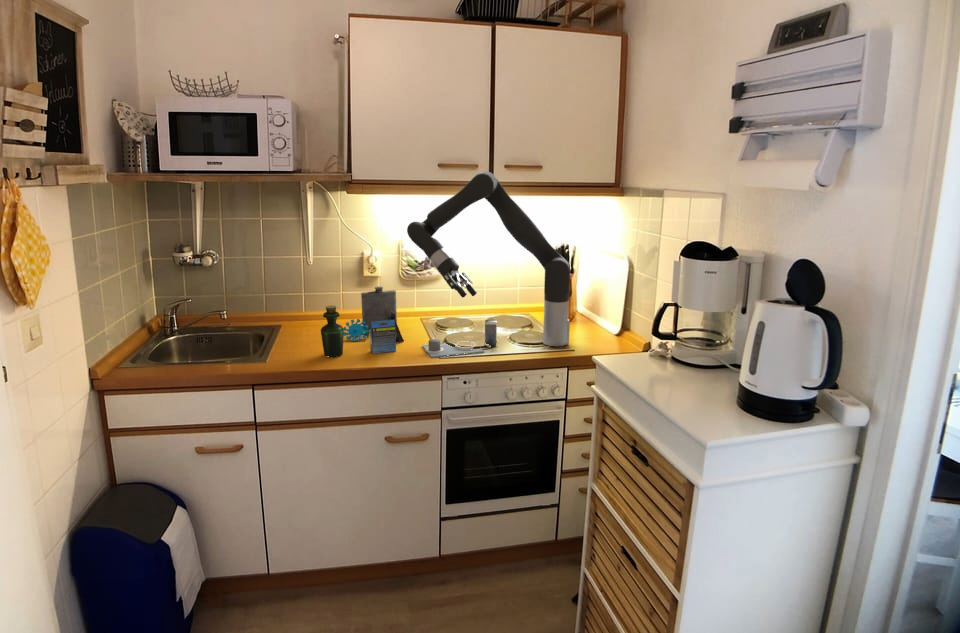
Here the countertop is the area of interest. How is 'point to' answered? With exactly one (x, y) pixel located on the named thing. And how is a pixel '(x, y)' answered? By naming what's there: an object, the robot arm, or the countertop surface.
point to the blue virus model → (356, 330)
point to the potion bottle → (332, 333)
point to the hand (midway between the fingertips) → (470, 295)
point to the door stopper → (397, 331)
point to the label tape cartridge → (382, 336)
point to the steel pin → (491, 332)
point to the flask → (377, 305)
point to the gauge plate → (447, 349)
